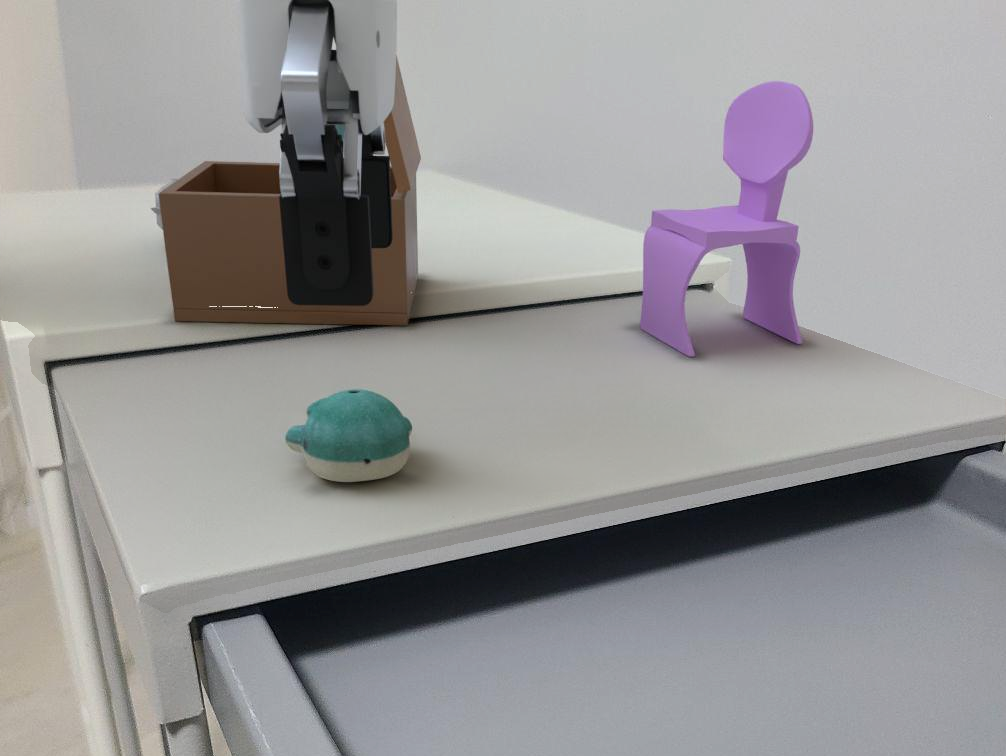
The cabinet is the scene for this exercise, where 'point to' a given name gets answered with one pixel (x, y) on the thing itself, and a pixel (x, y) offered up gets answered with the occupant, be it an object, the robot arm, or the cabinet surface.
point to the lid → (401, 138)
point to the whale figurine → (353, 437)
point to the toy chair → (736, 221)
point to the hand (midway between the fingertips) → (346, 272)
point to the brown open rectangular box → (266, 252)
